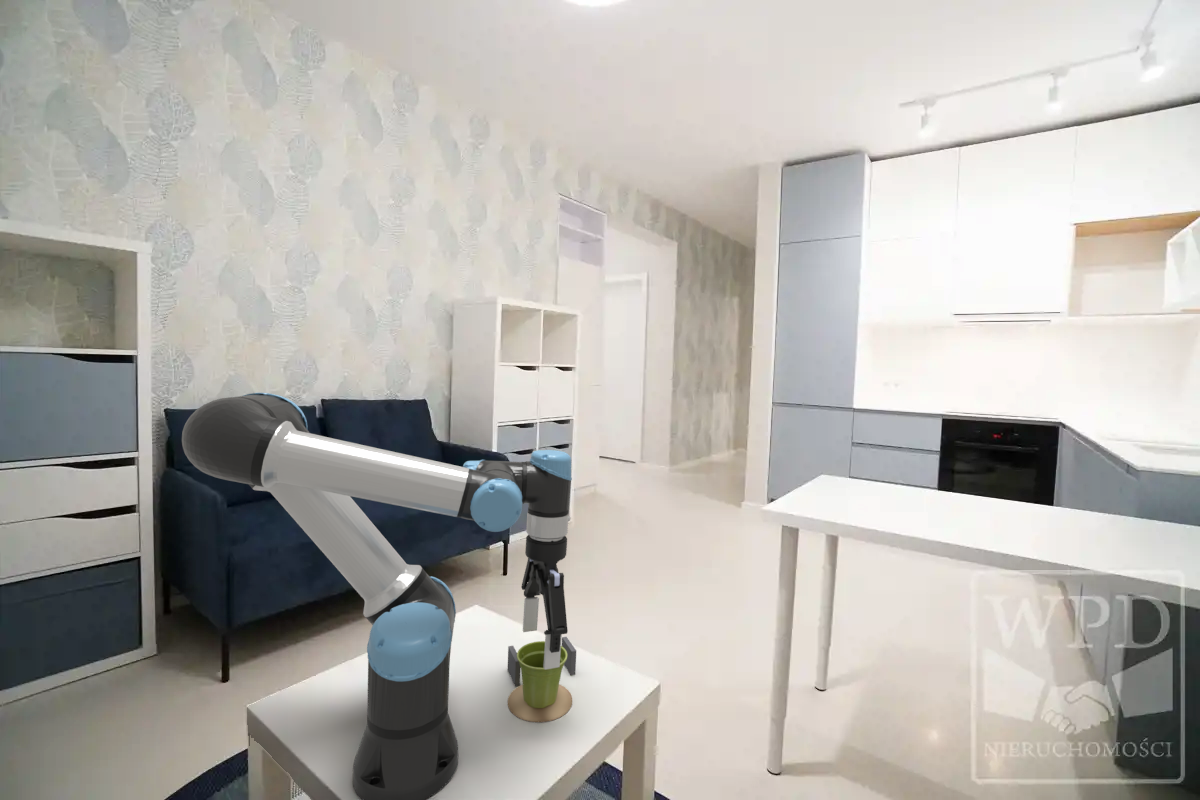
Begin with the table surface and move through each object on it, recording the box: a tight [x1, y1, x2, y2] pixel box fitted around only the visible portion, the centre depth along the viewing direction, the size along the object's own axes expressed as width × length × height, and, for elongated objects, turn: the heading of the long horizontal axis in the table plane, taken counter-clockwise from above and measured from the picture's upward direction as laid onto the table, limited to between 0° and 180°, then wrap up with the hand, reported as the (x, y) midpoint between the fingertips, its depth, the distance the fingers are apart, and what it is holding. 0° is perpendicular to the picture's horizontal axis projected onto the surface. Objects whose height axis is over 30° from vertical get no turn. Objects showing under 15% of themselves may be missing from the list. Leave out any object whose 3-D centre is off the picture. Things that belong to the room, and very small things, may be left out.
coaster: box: [507, 683, 573, 723], centre depth 99 cm, size 12×12×1 cm
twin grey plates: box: [506, 636, 577, 687], centre depth 109 cm, size 13×6×5 cm, turn 113°
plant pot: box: [516, 640, 567, 708], centre depth 99 cm, size 9×9×9 cm
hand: (539, 647), depth 99 cm, fingers open, 13 cm apart
